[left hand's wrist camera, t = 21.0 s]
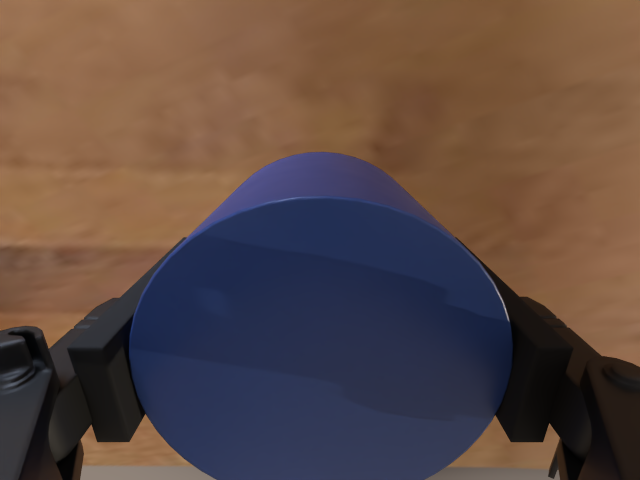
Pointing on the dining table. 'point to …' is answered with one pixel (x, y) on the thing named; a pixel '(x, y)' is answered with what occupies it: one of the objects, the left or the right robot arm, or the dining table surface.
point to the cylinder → (320, 332)
